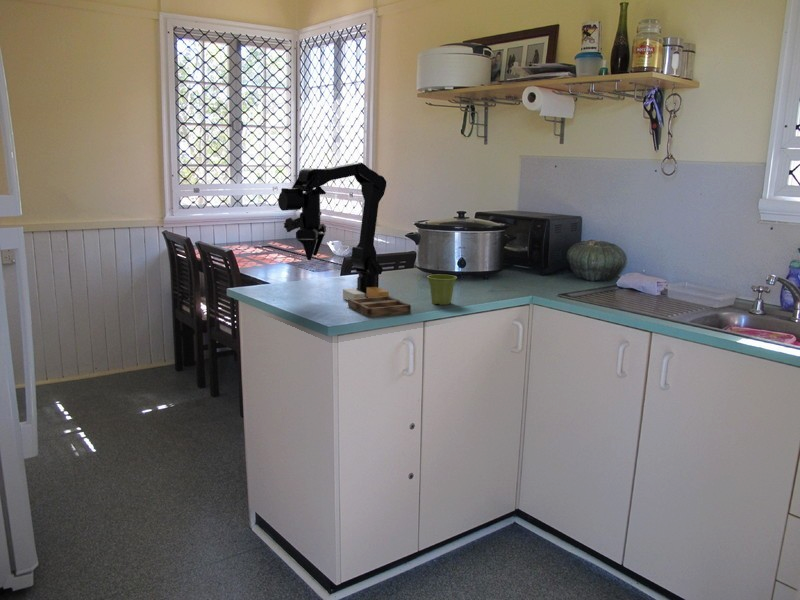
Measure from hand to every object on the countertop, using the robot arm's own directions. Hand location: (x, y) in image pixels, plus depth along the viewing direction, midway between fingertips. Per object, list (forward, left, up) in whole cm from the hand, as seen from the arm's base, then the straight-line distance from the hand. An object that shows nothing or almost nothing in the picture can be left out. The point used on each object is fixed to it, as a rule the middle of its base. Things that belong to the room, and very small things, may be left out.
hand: (312, 257), depth 214 cm
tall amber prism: (-19, +9, -14) cm, 25 cm away
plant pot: (-35, +22, -14) cm, 44 cm away
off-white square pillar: (-10, +9, -14) cm, 20 cm away
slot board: (-12, +24, -13) cm, 30 cm away
